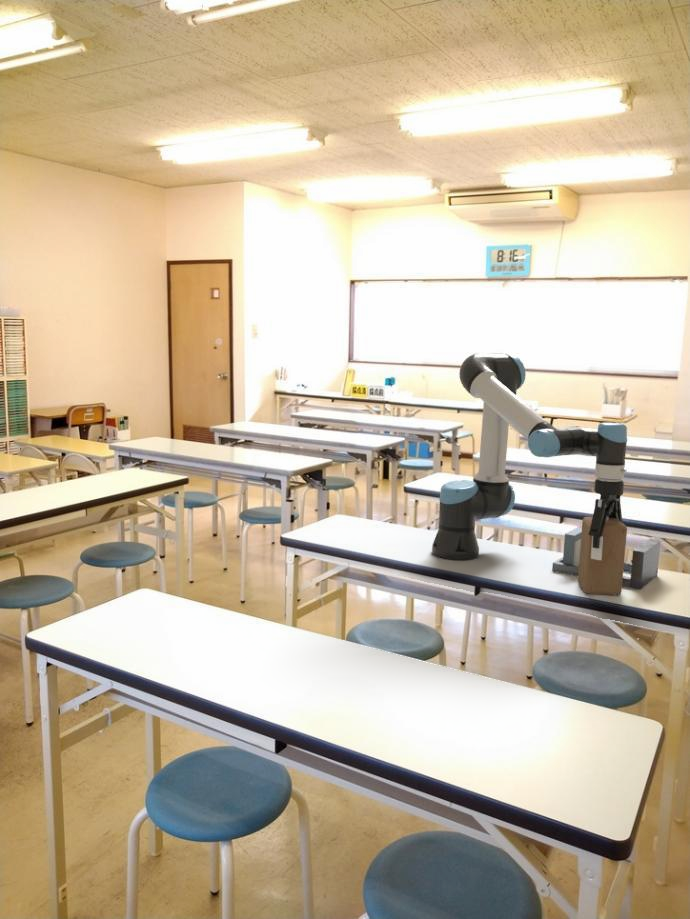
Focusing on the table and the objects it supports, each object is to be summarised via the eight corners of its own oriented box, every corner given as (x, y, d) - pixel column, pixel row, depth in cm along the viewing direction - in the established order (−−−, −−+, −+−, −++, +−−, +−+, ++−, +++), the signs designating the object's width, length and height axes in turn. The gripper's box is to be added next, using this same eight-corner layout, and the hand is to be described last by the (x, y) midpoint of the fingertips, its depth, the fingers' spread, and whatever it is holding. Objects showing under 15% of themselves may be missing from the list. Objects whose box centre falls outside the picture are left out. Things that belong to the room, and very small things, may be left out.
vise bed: (552, 570, 219) (554, 535, 217) (572, 558, 232) (575, 525, 230) (640, 589, 203) (644, 552, 201) (657, 575, 216) (660, 540, 215)
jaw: (562, 568, 220) (565, 533, 218) (575, 560, 229) (578, 527, 227) (573, 571, 218) (576, 535, 216) (586, 563, 226) (589, 529, 225)
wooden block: (622, 596, 197) (628, 525, 194) (584, 594, 198) (590, 524, 195) (612, 584, 207) (618, 517, 204) (576, 583, 208) (582, 515, 205)
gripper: (608, 486, 186) (603, 566, 188) (637, 475, 205) (632, 547, 208) (579, 483, 190) (574, 561, 193) (610, 472, 210) (605, 543, 213)
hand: (604, 554), depth 200 cm, fingers open, 13 cm apart
